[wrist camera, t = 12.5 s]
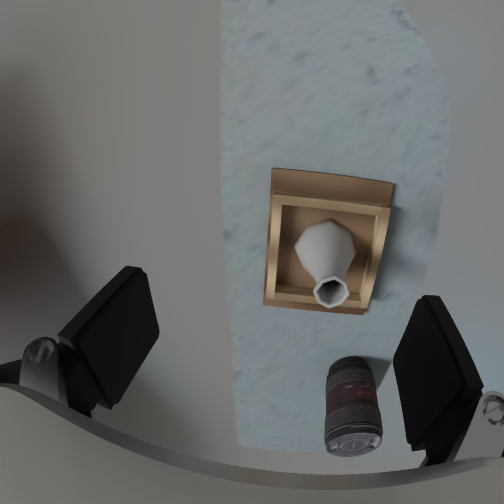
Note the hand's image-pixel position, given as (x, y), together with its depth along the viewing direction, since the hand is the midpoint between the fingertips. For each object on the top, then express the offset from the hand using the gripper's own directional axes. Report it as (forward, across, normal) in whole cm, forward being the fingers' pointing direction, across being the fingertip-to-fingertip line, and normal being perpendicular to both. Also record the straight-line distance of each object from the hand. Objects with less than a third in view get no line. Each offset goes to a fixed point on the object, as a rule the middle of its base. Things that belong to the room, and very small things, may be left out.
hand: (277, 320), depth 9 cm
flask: (+24, -4, +8) cm, 25 cm away
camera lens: (+24, -11, +30) cm, 40 cm away
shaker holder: (+24, -4, +8) cm, 26 cm away
